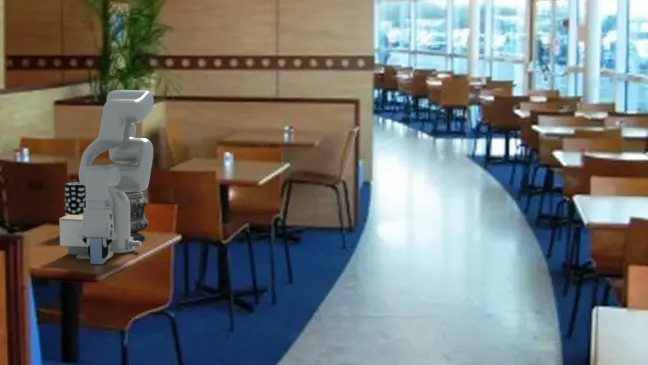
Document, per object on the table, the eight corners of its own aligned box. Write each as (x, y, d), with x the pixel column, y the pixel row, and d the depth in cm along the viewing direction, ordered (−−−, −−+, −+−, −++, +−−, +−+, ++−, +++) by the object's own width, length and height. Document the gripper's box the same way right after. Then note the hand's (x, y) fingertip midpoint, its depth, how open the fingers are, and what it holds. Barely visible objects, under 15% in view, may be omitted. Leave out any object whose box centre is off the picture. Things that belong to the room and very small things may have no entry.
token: (95, 257, 348) (95, 253, 348) (90, 260, 343) (90, 255, 343) (81, 256, 349) (81, 252, 349) (76, 259, 344) (76, 255, 344)
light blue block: (115, 255, 347) (114, 230, 346) (101, 264, 334) (101, 238, 333) (104, 255, 348) (104, 230, 346) (90, 263, 335) (90, 238, 333)
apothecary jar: (127, 233, 388) (127, 188, 386) (154, 236, 384) (153, 191, 382) (110, 239, 377) (110, 193, 375) (138, 242, 373) (137, 195, 370)
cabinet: (101, 254, 350) (101, 215, 348) (93, 259, 342) (92, 220, 340) (69, 253, 352) (68, 214, 350) (59, 258, 344) (59, 218, 342)
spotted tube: (89, 231, 391) (88, 182, 388) (85, 235, 383) (84, 185, 380) (68, 231, 391) (67, 182, 388) (63, 235, 382) (62, 185, 380)
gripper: (124, 203, 336) (125, 256, 339) (77, 202, 338) (78, 253, 341) (117, 207, 329) (117, 260, 331) (69, 205, 331) (70, 258, 333)
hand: (98, 256), depth 336 cm, fingers closed on light blue block, 4 cm apart
